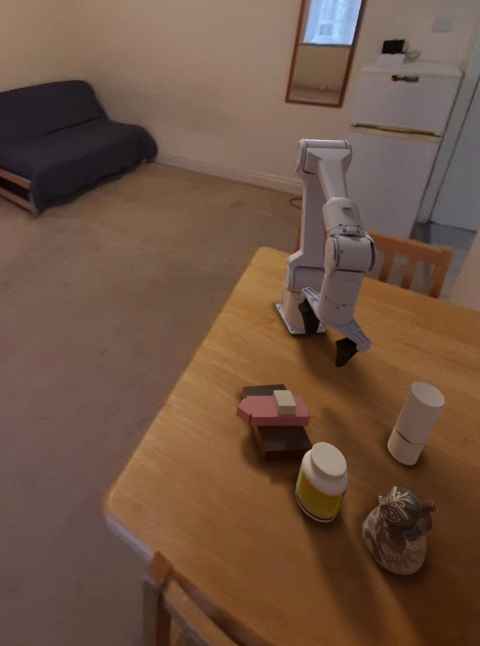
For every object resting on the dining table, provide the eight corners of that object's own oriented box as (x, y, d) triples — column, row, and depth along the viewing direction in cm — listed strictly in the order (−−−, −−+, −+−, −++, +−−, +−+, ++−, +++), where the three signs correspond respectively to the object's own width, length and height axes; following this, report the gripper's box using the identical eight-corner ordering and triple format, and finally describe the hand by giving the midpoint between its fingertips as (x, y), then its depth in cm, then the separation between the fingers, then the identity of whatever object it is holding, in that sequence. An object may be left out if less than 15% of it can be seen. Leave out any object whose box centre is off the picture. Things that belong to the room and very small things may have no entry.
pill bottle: (342, 528, 60) (359, 486, 55) (298, 519, 61) (310, 477, 56) (331, 482, 65) (345, 440, 61) (291, 474, 67) (301, 433, 62)
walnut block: (241, 396, 79) (242, 386, 78) (281, 393, 80) (283, 383, 78) (264, 462, 69) (266, 451, 67) (310, 458, 69) (313, 448, 67)
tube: (413, 443, 70) (439, 385, 64) (420, 468, 67) (448, 410, 60) (384, 435, 72) (407, 378, 65) (390, 460, 68) (415, 402, 61)
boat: (299, 404, 74) (303, 387, 72) (308, 425, 71) (312, 408, 69) (233, 404, 75) (235, 387, 73) (239, 426, 71) (241, 409, 69)
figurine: (361, 505, 62) (380, 459, 57) (416, 529, 59) (441, 483, 54) (363, 559, 57) (384, 513, 51) (424, 588, 54) (452, 544, 48)
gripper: (392, 317, 66) (373, 373, 72) (325, 265, 79) (314, 316, 85) (359, 329, 64) (342, 386, 70) (296, 273, 77) (286, 326, 83)
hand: (324, 349), depth 77 cm, fingers open, 7 cm apart
